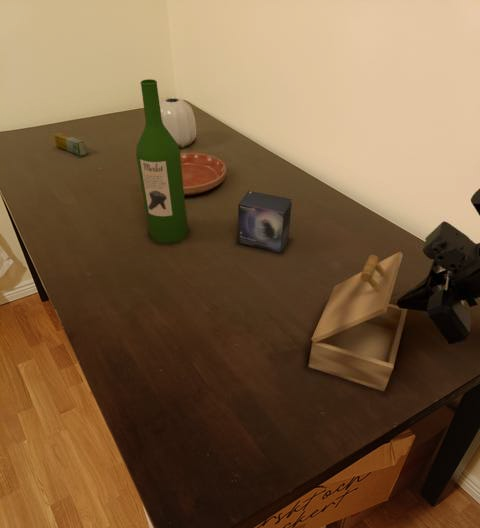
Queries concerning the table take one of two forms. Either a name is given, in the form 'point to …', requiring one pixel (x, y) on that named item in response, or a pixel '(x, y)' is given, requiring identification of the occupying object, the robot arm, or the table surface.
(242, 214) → the small box
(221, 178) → the saucer
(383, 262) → the chest lid
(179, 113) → the vase
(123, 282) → the table surface
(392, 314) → the chest
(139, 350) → the table surface
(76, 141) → the medication box
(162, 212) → the wine bottle
